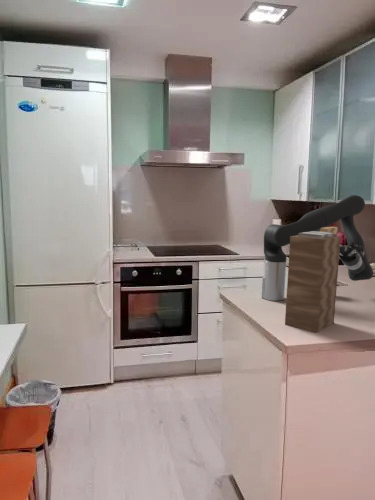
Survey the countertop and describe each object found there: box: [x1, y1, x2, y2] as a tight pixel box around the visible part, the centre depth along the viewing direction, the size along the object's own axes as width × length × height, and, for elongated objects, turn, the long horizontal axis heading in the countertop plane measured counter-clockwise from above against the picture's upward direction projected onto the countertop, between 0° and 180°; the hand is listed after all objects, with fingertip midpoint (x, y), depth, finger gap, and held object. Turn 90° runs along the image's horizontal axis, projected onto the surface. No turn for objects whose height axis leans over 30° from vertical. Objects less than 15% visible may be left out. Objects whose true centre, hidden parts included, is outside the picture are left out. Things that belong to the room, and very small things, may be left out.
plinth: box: [284, 235, 342, 333], centre depth 142 cm, size 15×12×32 cm
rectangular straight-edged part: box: [298, 226, 339, 239], centre depth 144 cm, size 22×8×3 cm, turn 139°
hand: (340, 242), depth 159 cm, fingers open, 8 cm apart
